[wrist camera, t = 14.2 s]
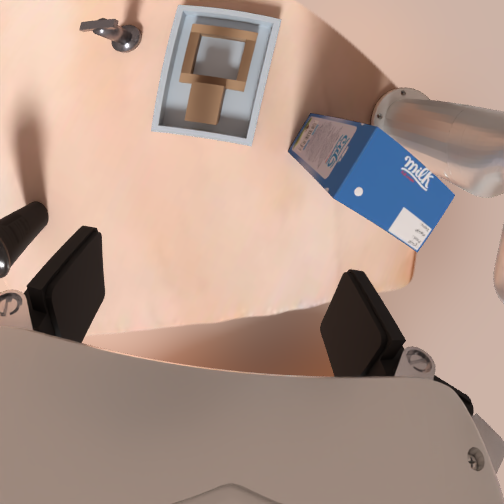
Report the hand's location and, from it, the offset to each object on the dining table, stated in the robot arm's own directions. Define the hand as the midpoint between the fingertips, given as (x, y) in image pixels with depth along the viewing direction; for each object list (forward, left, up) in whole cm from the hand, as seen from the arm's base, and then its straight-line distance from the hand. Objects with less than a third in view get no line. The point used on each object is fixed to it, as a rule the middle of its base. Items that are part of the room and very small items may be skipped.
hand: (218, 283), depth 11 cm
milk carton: (-13, -3, -31) cm, 33 cm away
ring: (+4, -10, -30) cm, 32 cm away
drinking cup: (+31, +14, -31) cm, 46 cm away
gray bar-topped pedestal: (+17, -14, -30) cm, 37 cm away
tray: (+4, -10, -30) cm, 32 cm away
